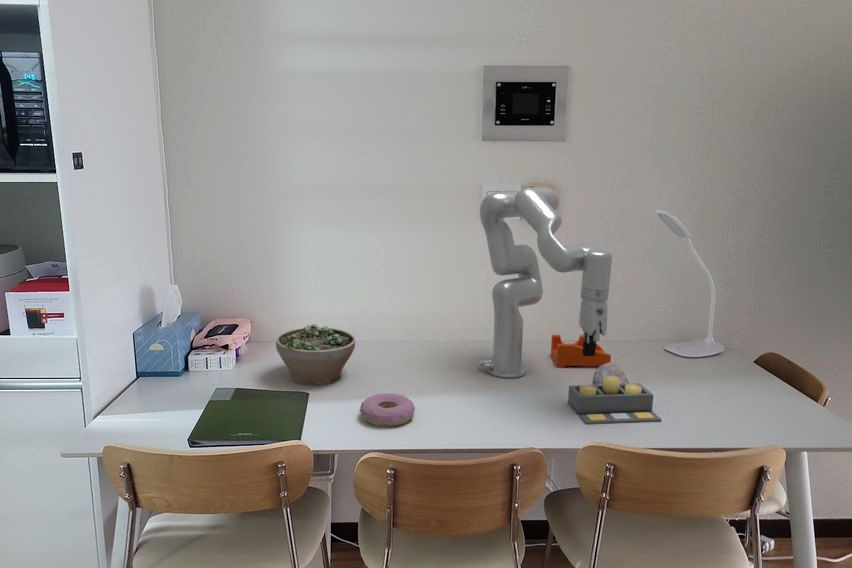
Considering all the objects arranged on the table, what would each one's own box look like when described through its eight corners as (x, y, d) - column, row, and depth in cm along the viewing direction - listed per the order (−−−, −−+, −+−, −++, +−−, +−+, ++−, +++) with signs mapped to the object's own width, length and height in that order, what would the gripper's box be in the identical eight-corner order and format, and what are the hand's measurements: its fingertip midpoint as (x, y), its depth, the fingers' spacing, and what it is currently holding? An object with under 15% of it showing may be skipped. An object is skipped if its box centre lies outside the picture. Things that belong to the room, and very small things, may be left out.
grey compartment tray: (578, 415, 191) (579, 397, 190) (567, 402, 200) (569, 385, 198) (651, 412, 193) (653, 394, 192) (638, 400, 202) (639, 383, 201)
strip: (585, 424, 185) (585, 421, 185) (579, 416, 190) (579, 413, 190) (661, 421, 188) (661, 418, 187) (653, 414, 192) (653, 411, 192)
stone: (613, 413, 207) (639, 393, 204) (591, 391, 206) (617, 370, 203) (606, 393, 223) (629, 374, 221) (585, 372, 222) (609, 352, 220)
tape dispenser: (557, 368, 229) (558, 345, 228) (550, 356, 242) (551, 334, 240) (609, 369, 230) (611, 346, 228) (600, 357, 242) (602, 335, 240)
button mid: (605, 397, 193) (606, 381, 192) (599, 391, 198) (600, 375, 196) (620, 397, 194) (622, 380, 193) (614, 391, 198) (616, 375, 197)
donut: (355, 409, 193) (355, 393, 192) (407, 404, 197) (407, 388, 196) (366, 432, 178) (366, 415, 177) (421, 426, 183) (421, 409, 182)
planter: (306, 359, 234) (305, 318, 230) (369, 371, 223) (369, 328, 220) (259, 383, 211) (257, 338, 208) (327, 397, 201) (326, 350, 197)
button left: (581, 407, 193) (583, 391, 192) (576, 401, 197) (577, 385, 196) (597, 407, 193) (598, 390, 192) (591, 401, 198) (592, 385, 197)
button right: (627, 406, 195) (629, 389, 193) (621, 399, 199) (622, 384, 198) (642, 405, 195) (644, 389, 194) (636, 399, 200) (637, 383, 198)
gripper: (617, 300, 181) (611, 364, 186) (597, 286, 196) (591, 346, 200) (591, 300, 180) (585, 364, 185) (572, 286, 195) (567, 346, 199)
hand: (588, 355), depth 193 cm, fingers closed
